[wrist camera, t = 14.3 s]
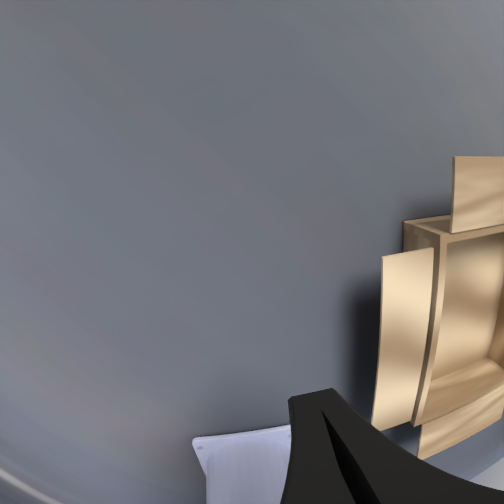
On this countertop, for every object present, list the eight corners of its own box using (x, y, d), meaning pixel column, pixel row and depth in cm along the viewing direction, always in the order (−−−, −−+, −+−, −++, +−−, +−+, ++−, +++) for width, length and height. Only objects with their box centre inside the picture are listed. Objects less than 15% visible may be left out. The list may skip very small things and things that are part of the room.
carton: (509, 345, 23) (534, 364, 19) (352, 407, 22) (370, 442, 18) (530, 203, 19) (563, 212, 15) (352, 228, 18) (384, 244, 14)
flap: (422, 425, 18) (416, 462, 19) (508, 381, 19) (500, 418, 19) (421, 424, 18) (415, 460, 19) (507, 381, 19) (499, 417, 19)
